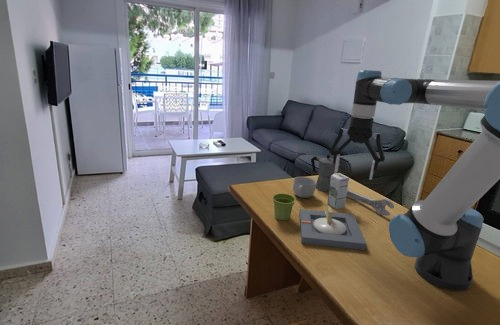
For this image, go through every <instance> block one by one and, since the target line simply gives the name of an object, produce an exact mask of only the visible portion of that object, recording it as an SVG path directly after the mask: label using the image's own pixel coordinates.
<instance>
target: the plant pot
mask: <svg viewBox="0 0 500 325" xmlns="http://www.w3.org/2000/svg"><path fill="white" fill-rule="evenodd" d="M272 200H273V206H274V218H275V219H277V220H279V221H288V220H290V217H291V215H292V211H293V210H292V209H293V206H294V205H295V202H296V201H297V200H296V197H295V196H293V195H292V194H289V193H282V192H281V193H280V192H279V193H275V194H274V195H273V196H272Z"/></svg>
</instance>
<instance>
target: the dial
mask: <svg viewBox="0 0 500 325" xmlns="http://www.w3.org/2000/svg"><path fill="white" fill-rule="evenodd" d="M332 208H333V207H331V206H329V205H328V206H326V210H325V211H326V218H319V219H316V220H315V221H314V228H315V230H317V231H318V232H320V233H324V234H334V235H343V234H344V233H345V231H346V227H345V225H344V224H343V223H342V222H340V221H338V220H335V219H332V214H333V209H332Z"/></svg>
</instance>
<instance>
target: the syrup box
mask: <svg viewBox="0 0 500 325" xmlns="http://www.w3.org/2000/svg"><path fill="white" fill-rule="evenodd" d="M349 181H350V177H349V176H347V175H344V174H342V173H334V174H333V175H331V181H330V188H329V191H328V198H327V205H328V206H329V207H331V208H333V209H335V210H339V209H344V208H346V207H345V206H346V202H347V201H346V200H347V196H346V195H347V190H348V187H349Z"/></svg>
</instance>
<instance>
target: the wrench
mask: <svg viewBox="0 0 500 325" xmlns="http://www.w3.org/2000/svg"><path fill="white" fill-rule="evenodd" d="M347 197H348V198H349V199H352V200H354V201H358V202H360V203H363V204H365V205H368V206H370V207H372V208H373V209H374V211H376V213H377V215H378V216H381V215H382V216H390V215H391V213H390V212H389V211H388V210H386V206H388V208H390V209H391V210H392V209H394V208H395V205H394V203H393V202H392V200H391V199H388V198H384V199H383V198H382V199H373V198H370V197H368V196H365V195H363V194H360V193H359V192H358V193H357V192H354V191H352V190H350V189H347V195H346V198H347Z"/></svg>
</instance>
